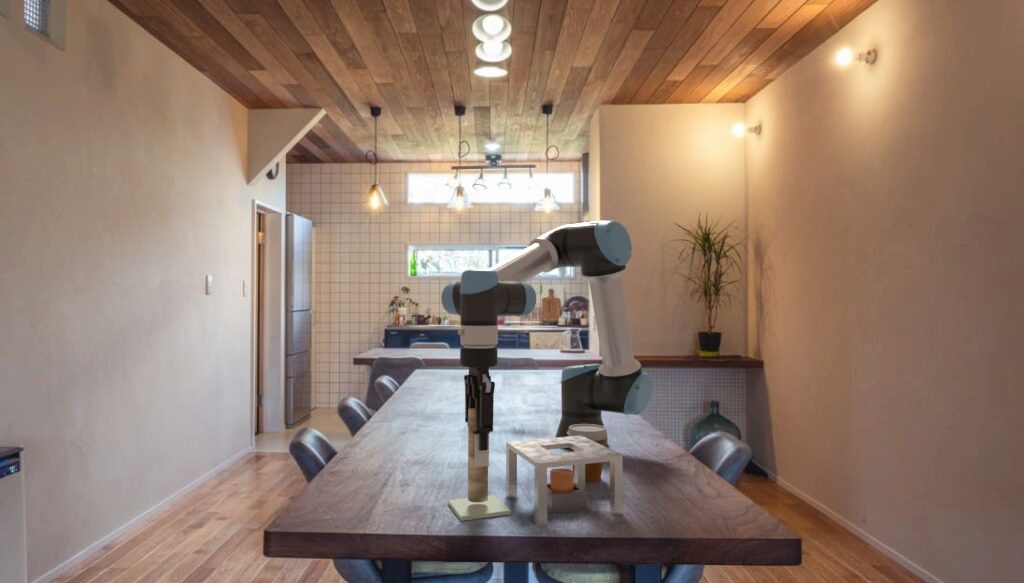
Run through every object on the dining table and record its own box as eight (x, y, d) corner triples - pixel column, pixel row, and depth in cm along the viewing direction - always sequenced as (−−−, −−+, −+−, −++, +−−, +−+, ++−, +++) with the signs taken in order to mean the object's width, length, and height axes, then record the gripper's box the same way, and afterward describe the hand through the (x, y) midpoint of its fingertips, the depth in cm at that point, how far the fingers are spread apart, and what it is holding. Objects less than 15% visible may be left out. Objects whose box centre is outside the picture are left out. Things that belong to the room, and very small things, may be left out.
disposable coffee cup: (610, 475, 143) (610, 425, 143) (603, 486, 134) (603, 433, 134) (572, 471, 146) (572, 422, 146) (562, 482, 137) (562, 430, 137)
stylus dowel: (484, 495, 122) (484, 407, 122) (490, 501, 118) (490, 410, 119) (465, 497, 121) (466, 408, 121) (471, 503, 117) (471, 411, 117)
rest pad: (494, 498, 126) (494, 494, 126) (510, 514, 117) (510, 510, 117) (448, 503, 123) (448, 500, 123) (460, 520, 113) (460, 516, 113)
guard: (581, 486, 134) (581, 435, 134) (622, 513, 117) (622, 454, 117) (506, 495, 128) (506, 441, 128) (538, 525, 111) (538, 463, 111)
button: (567, 496, 126) (567, 467, 126) (577, 503, 121) (577, 473, 121) (546, 498, 124) (546, 469, 124) (556, 506, 120) (556, 476, 120)
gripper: (450, 344, 127) (449, 454, 126) (472, 350, 111) (472, 476, 110) (484, 343, 129) (483, 451, 129) (510, 349, 113) (510, 472, 113)
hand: (478, 462), depth 120 cm, fingers closed on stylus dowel, 4 cm apart
